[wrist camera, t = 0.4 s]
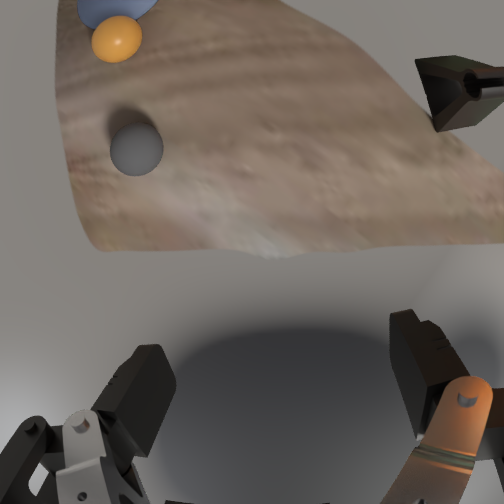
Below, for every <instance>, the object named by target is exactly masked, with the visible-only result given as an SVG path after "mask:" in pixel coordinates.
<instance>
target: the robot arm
mask: <svg viewBox="0 0 504 504" xmlns="http://www.w3.org/2000/svg"><path fill="white" fill-rule="evenodd" d="M389 322H390V323H389V324H390V325H389V331H390V332H389V333H390V334H389V335H390V336H389V339H390V340H389V354H390V362H391V366H392V370H393V372H394V375H395V378H396V381H397V383H398V386H399V389H400V392H401V395H402V398H403V401H404V404H405V407H406V410H407V413H408V415H409V419H410V422H411V425H412V428H413V432H414V435H415V438H416V440H420V439H422V440H421V442H420V444H419V446H418V447H415V448H414V450H413V451H412V453H411V454H410V456H409V458H408V459H407V461H406V463H405V465H404V466H403V468H402V470H401V471H400V473H399V475H398V476H397V478H396V480H395V481H394V483H393V484H392V486H391V488H390V489H389V491H388V492H387V494H386V495H385V497H384V498H383V500H382V501H381V503H380V504H459V502H460V499H461V497H462V495H463V492H464V490H465V488H466V486H467V483H468V481H469V478H470V476H471V473H472V470H473V468H474V464H475V461H479V460H490V459H493V460H494V463H495V466H496V469H497V472H498V475H499V478H500V482H501V485H502V488H503V492H504V388H498V389H494V388H491V387H490V386H489V384H488V383H487V382H486V381H484V380H483V379H481V378H478V377H474V376H470V374H469V372H468V371H467V369H466V367H465V366H464V364H463V363H462V361H461V359H460V358H459V356H458V355H457V353H456V351H455V350H454V348H453V347H451V344H450V342H449V340H448V339H446V336H445V334H444V333H443V331H442V330H441V328H440V327H438V326H437V325H436V324H434V323H432V322H431V321H429V320H427V321H423V322H420V320H419V319H418V317H417V316H416V314H415V313H414V311H413V310H412V309H408V310H404V311H399V312H394V313H391V314H390V319H389ZM175 391H176V378H175V375H174V373H173V371H172V369H171V366H170V364H169V362H168V360H167V358H166V355H165V353H164V351H163V349H162V347H161V346H160V345H159V344H151V345H139V346H138V347H137V349H136V350H135V351H134V353H133V355H132V356H131V357H130V358H129V359H128V360H127V361H125V362H124V363H123V364H122V365H121V366H119V368H118V369H117V371H116V372H115V373H114V375H113V378H111V379H110V381H109V382H108V385H106V387H105V388H104V390H103V391H102V393H101V394H100V396H99V397H98V399H97V400H96V402H95V403H94V405H93V407H92V408H91V410H81V411H78V412H76V413H74V414H72V415H71V416H70V417H69V418H68V419H67V420H66V421H65V423H64V425H61V426H50V425H49V424H48V423H47V421H46V420H45V419H44V418H43V417H42V416H33V417H30V418H28V419H26V420H25V421H24V422H22V423H21V425H20V426H19V427H18V429H17V430H16V432H15V433H14V435H13V436H12V437H11V439H10V440H9V442H8V443H7V445H6V446H5V448H4V449H3V451H2V452H1V454H0V504H151V503H150V501H149V499H148V497H147V494H146V492H145V489H144V487H143V484H142V482H141V479H140V477H139V474H138V471H137V469H136V466H135V464H134V463H133V462H132V460H133V457H134V456H139V457H148V455H149V452H150V450H151V448H152V445H153V443H154V440H155V438H156V436H157V434H158V431H159V429H160V426H161V424H162V422H163V420H164V417H165V415H166V413H167V410H168V408H169V406H170V403H171V401H172V399H173V396H174V394H175ZM39 462H40V463H41V464H42V465H43V466H44V467H45V468H46V470H47V471H48V472H49V474H48V476H47V477H46V479H45V481H44V483H43V485H42V487H41V489H40V491H39V492H38V494H37V496H35V495H33V494H32V493H31V491H30V489H29V486H28V483H29V480H30V478H31V476H32V474H33V472H34V471H35V469H36V467H37V465H38V464H39ZM165 504H191V503H182V502H175V501H168V500H166V501H165ZM325 504H330V503H325Z"/></svg>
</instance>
